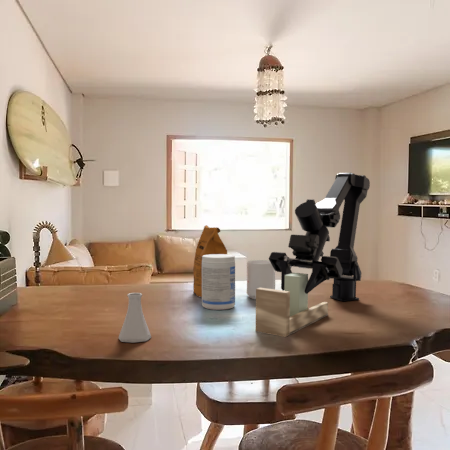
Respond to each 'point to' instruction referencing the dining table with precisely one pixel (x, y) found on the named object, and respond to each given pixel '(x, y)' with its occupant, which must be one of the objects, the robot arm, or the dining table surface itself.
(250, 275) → the mug
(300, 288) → the pale green block
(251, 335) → the dining table surface
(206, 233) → the coffee package
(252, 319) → the dining table surface
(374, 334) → the dining table surface
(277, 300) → the track
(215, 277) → the supplement tub
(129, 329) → the flask
